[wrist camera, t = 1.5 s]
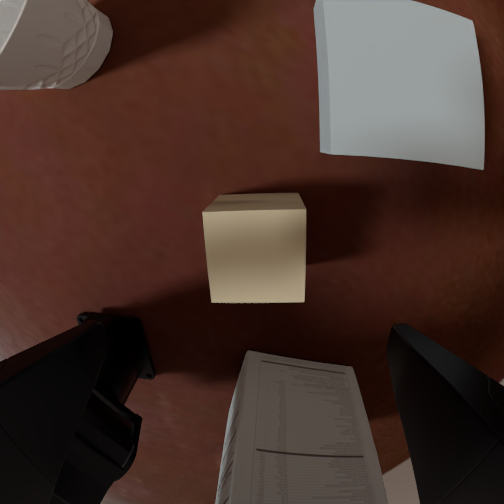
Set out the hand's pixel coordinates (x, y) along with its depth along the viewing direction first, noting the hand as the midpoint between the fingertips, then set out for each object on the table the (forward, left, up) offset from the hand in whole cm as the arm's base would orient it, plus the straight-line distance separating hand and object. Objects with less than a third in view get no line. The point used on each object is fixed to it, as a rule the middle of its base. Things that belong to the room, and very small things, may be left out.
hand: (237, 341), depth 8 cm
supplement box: (-15, -2, -12) cm, 20 cm away
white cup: (+15, +13, -12) cm, 23 cm away
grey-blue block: (+10, -9, -13) cm, 18 cm away
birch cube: (0, 0, -12) cm, 12 cm away
